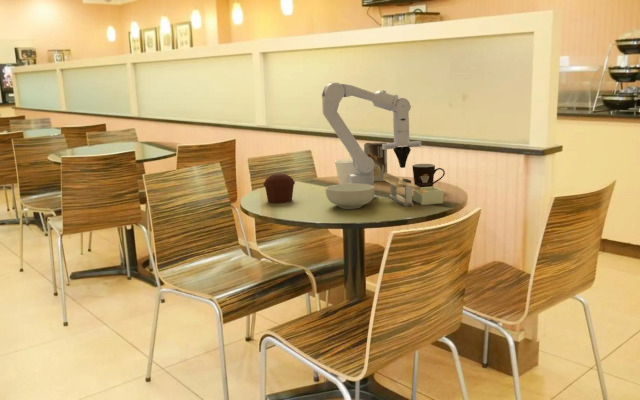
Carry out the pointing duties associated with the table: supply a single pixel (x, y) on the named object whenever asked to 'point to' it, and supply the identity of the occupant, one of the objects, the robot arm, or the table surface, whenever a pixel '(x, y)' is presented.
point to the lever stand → (404, 201)
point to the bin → (428, 195)
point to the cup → (344, 169)
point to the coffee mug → (425, 174)
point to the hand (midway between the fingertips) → (402, 167)
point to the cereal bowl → (350, 195)
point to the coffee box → (377, 159)
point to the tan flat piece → (398, 181)
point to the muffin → (279, 188)
